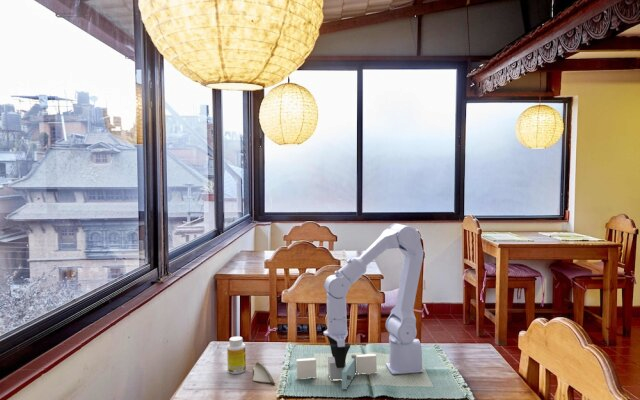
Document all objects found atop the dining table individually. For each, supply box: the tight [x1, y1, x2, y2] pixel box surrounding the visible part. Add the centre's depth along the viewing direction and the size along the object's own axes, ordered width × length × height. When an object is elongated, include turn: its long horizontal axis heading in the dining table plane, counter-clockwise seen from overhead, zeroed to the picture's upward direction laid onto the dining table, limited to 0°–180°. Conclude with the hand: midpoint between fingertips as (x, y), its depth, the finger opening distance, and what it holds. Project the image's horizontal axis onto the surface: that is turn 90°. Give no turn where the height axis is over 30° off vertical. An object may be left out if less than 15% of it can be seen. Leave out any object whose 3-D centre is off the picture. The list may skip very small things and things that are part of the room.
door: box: [341, 358, 356, 390], centre depth 134 cm, size 10×2×5 cm, turn 162°
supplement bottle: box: [226, 335, 247, 375], centre depth 144 cm, size 6×6×10 cm
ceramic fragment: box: [251, 361, 276, 386], centre depth 139 cm, size 14×5×4 cm, turn 28°
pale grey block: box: [327, 356, 347, 380], centre depth 138 cm, size 4×4×6 cm
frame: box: [296, 353, 378, 380], centre depth 139 cm, size 24×2×6 cm, turn 97°
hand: (338, 362), depth 138 cm, fingers open, 7 cm apart
